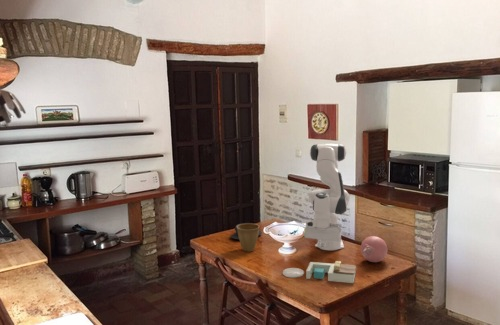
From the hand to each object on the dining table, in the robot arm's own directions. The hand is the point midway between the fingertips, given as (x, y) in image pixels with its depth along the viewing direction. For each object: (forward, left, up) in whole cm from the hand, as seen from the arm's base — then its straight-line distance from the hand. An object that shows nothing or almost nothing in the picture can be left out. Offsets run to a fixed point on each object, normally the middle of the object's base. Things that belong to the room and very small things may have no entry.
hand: (322, 247), depth 247 cm
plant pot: (-33, -54, -17) cm, 65 cm away
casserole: (-59, -64, -17) cm, 89 cm away
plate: (0, -17, -17) cm, 24 cm away
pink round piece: (-27, +25, -17) cm, 41 cm away
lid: (0, +12, -12) cm, 17 cm away
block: (+1, -2, -17) cm, 17 cm away
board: (-2, +4, -17) cm, 18 cm away
